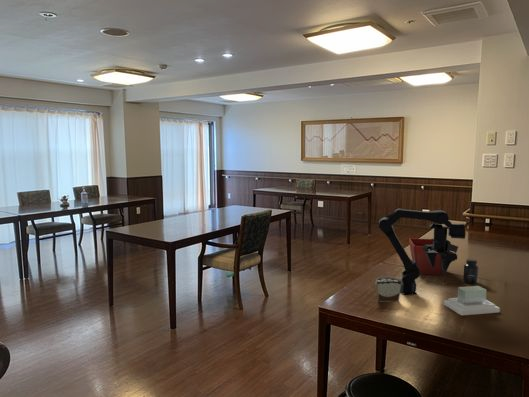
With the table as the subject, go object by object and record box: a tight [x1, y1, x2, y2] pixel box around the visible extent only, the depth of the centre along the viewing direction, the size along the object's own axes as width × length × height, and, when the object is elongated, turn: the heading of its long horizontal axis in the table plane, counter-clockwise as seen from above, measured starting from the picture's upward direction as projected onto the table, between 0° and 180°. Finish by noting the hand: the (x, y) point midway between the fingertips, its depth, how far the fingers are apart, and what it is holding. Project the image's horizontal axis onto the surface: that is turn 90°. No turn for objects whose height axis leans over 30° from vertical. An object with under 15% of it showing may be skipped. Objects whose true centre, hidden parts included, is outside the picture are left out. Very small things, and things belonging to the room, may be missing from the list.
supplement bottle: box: [462, 258, 480, 285], centre depth 206 cm, size 7×7×12 cm
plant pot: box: [408, 237, 451, 276], centre depth 225 cm, size 19×19×17 cm
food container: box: [374, 276, 403, 303], centre depth 184 cm, size 12×6×10 cm, turn 92°
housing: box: [456, 285, 487, 306], centre depth 172 cm, size 5×10×7 cm, turn 100°
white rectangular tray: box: [443, 297, 501, 316], centre depth 173 cm, size 18×12×3 cm, turn 100°
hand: (438, 269), depth 187 cm, fingers open, 9 cm apart
